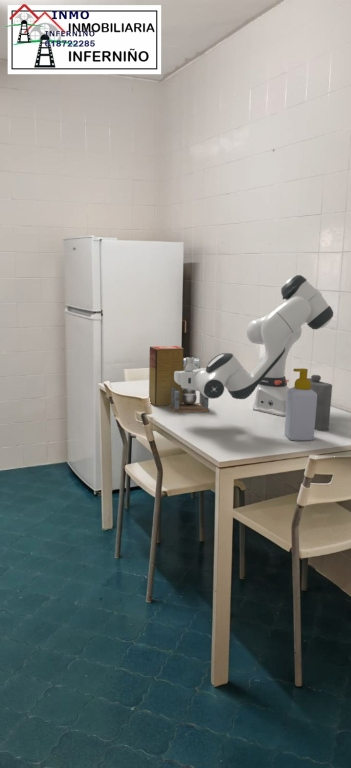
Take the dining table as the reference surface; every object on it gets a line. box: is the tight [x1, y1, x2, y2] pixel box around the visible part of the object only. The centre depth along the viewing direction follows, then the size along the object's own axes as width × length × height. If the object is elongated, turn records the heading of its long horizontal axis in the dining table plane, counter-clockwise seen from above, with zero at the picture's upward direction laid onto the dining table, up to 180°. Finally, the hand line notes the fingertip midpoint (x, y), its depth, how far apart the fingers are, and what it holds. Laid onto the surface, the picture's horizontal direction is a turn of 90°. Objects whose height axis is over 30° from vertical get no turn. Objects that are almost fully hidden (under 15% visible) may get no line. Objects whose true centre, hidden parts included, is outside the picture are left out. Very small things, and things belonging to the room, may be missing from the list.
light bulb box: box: [183, 357, 201, 369], centre depth 310 cm, size 11×7×11 cm, turn 84°
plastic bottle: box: [182, 356, 198, 404], centre depth 244 cm, size 6×7×20 cm
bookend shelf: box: [169, 387, 210, 413], centre depth 242 cm, size 10×14×8 cm
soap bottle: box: [284, 368, 317, 442], centre depth 204 cm, size 9×9×25 cm
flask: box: [307, 374, 333, 432], centre depth 220 cm, size 15×6×20 cm, turn 25°
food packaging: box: [148, 345, 185, 407], centre depth 250 cm, size 13×9×25 cm
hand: (196, 372), depth 228 cm, fingers open, 8 cm apart
